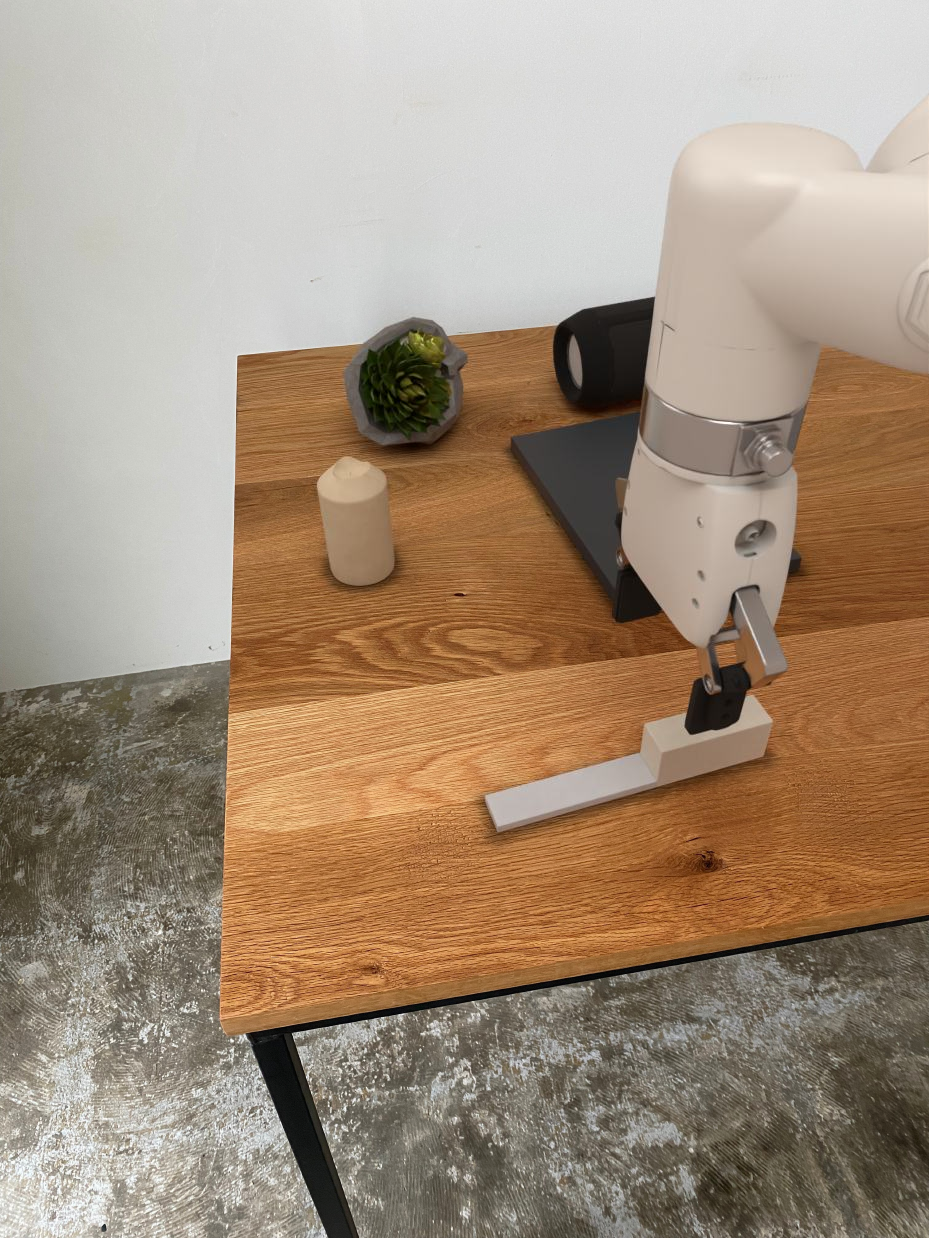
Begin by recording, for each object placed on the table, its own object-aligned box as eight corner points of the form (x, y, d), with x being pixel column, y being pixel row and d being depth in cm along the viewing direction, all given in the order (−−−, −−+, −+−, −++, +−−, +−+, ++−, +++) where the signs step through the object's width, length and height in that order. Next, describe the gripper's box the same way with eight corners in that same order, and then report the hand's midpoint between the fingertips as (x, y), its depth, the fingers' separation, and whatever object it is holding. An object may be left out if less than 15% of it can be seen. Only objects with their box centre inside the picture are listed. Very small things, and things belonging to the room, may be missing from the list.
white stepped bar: (743, 729, 65) (753, 693, 62) (763, 756, 63) (774, 721, 61) (484, 801, 61) (483, 766, 59) (497, 833, 59) (497, 798, 57)
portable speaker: (584, 429, 95) (589, 337, 88) (547, 385, 102) (550, 296, 95) (803, 385, 100) (824, 294, 94) (754, 346, 107) (771, 259, 101)
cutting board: (657, 420, 96) (659, 407, 95) (798, 571, 77) (802, 557, 76) (510, 450, 93) (510, 436, 92) (621, 614, 74) (622, 600, 73)
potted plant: (477, 362, 99) (518, 391, 86) (399, 454, 101) (426, 496, 88) (392, 282, 94) (422, 300, 81) (311, 381, 96) (327, 414, 83)
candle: (324, 554, 81) (308, 455, 74) (386, 540, 82) (375, 442, 75) (338, 592, 77) (321, 492, 70) (402, 578, 78) (392, 478, 72)
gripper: (900, 501, 39) (806, 759, 51) (702, 329, 52) (662, 569, 63) (742, 536, 38) (681, 794, 49) (577, 350, 50) (559, 591, 62)
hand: (671, 667), depth 56 cm, fingers open, 9 cm apart
